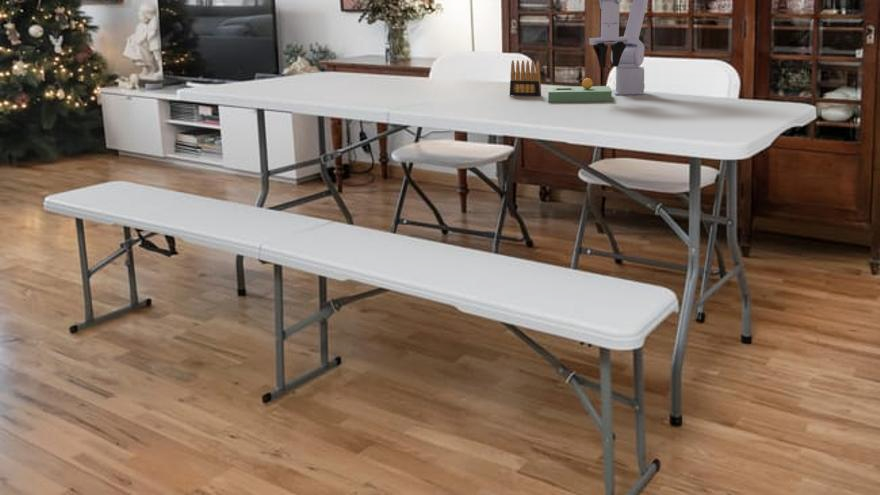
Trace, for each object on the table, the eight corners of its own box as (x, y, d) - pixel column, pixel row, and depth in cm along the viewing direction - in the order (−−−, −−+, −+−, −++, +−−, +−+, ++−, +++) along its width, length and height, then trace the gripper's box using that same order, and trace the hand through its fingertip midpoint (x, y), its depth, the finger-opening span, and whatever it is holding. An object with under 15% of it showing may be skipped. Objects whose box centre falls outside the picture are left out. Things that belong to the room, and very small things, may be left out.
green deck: (609, 96, 331) (609, 86, 330) (611, 101, 317) (611, 91, 316) (548, 96, 333) (548, 86, 332) (548, 102, 320) (548, 92, 319)
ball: (592, 88, 325) (592, 77, 324) (592, 89, 322) (593, 78, 321) (581, 88, 326) (581, 77, 325) (581, 89, 323) (582, 78, 322)
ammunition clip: (541, 95, 337) (541, 59, 333) (539, 96, 335) (539, 60, 332) (511, 95, 341) (511, 59, 337) (509, 95, 339) (509, 60, 336)
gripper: (620, 22, 324) (619, 64, 328) (584, 23, 318) (583, 67, 321) (634, 23, 318) (632, 66, 321) (596, 24, 312) (595, 68, 315)
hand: (608, 66), depth 321 cm, fingers open, 5 cm apart
